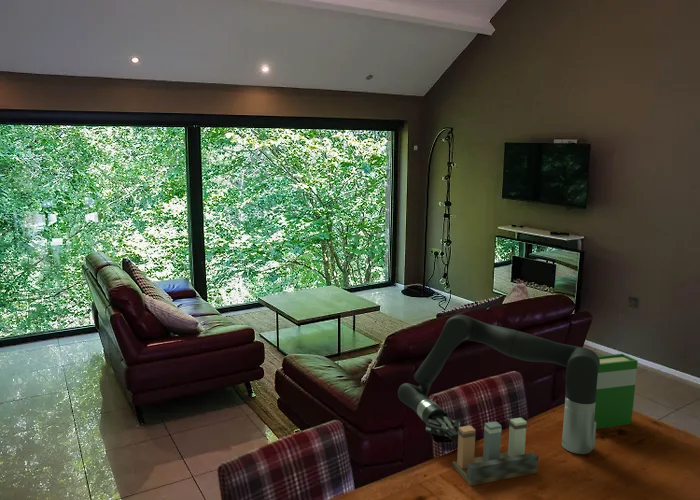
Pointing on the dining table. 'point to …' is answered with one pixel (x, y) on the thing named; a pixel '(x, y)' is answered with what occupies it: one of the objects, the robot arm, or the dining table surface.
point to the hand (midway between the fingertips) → (456, 438)
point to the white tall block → (517, 437)
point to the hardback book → (615, 390)
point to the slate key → (492, 441)
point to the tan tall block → (466, 446)
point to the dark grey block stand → (498, 468)
